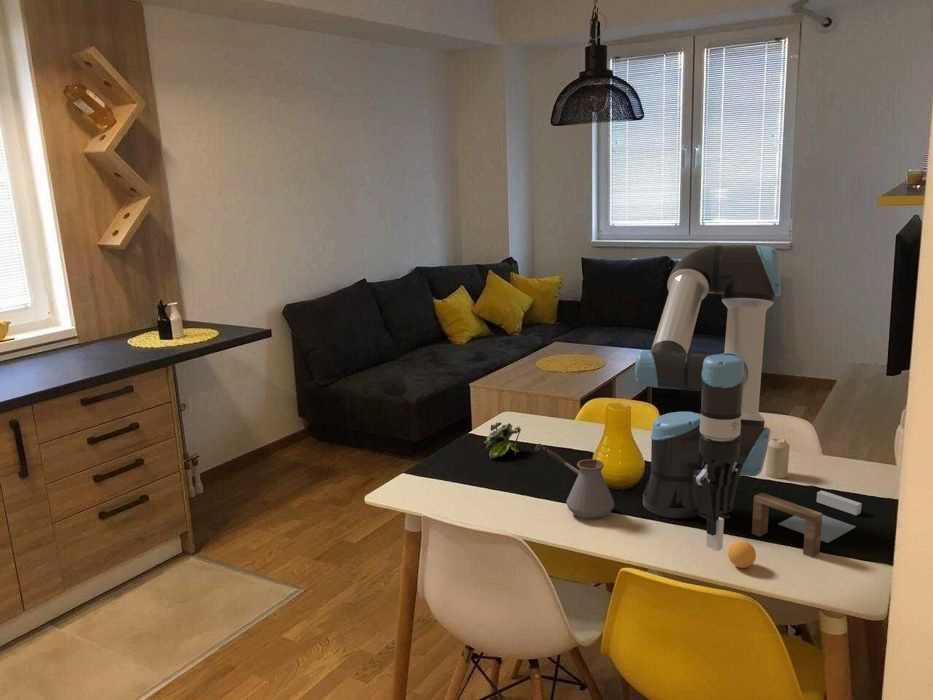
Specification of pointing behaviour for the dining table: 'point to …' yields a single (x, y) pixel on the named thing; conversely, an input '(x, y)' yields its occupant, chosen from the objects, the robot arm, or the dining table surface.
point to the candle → (777, 458)
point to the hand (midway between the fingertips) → (714, 547)
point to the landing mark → (828, 530)
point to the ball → (741, 554)
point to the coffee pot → (587, 489)
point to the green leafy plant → (501, 440)
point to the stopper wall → (839, 502)
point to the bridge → (811, 517)
